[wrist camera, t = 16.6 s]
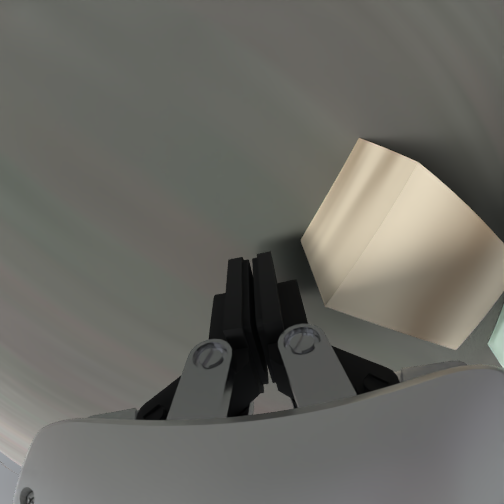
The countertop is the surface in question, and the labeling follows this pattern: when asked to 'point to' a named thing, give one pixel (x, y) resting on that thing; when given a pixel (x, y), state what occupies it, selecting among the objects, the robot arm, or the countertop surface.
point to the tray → (498, 339)
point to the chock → (403, 249)
